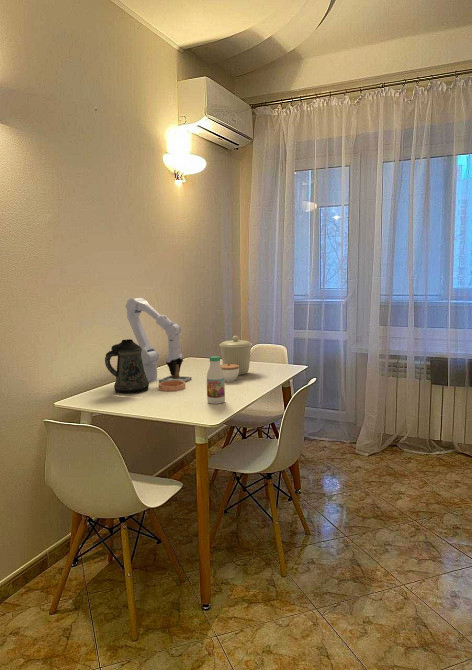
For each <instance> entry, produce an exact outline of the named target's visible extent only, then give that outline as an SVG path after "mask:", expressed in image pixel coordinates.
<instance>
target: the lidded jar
mask: <svg viewBox="0 0 472 670" xmlns="http://www.w3.org/2000/svg"><path fill="white" fill-rule="evenodd" d="M220 366H221V368H222V370H223V373H224V382H225V381H226V382H228V383H229V382H230V383H231V382H232V383H233V382H235V381H236V379H237V378H238V377H239V375H238V374H239V365H237V364H230V363H228V364H223V363H222V364H220ZM226 382H225V383H226Z"/></svg>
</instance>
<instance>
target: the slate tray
mask: <svg viewBox="0 0 472 670" xmlns="http://www.w3.org/2000/svg"><path fill="white" fill-rule="evenodd" d="M192 380H193V379H192V377H191V376H181V375H179V378H178V379H172V376H171V375H168V376H165V377H163V378H161V379H158V384H159V383H161V382H165V381H183V382H185V383H188V382H190V381H192Z"/></svg>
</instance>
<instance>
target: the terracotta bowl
mask: <svg viewBox="0 0 472 670" xmlns="http://www.w3.org/2000/svg"><path fill="white" fill-rule="evenodd" d="M184 389H186V382H183V381H165V382H161V383H159V382H158V390H159V391H162V392H176V391H182V390H184Z"/></svg>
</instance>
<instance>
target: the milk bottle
mask: <svg viewBox="0 0 472 670" xmlns="http://www.w3.org/2000/svg"><path fill="white" fill-rule="evenodd" d="M209 363H210V364H209V368H208V370H207V372H206V373H207V374H206V399H207V403H209V404H211V405H215V404H216V405H218V404H223V403H225V401H226V387H225V386H226V385H225V383H226V382H225V381H224V373H223V370H222V368H221V366H220V365H221V356H218V355H212V356H210V357H209Z"/></svg>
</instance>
